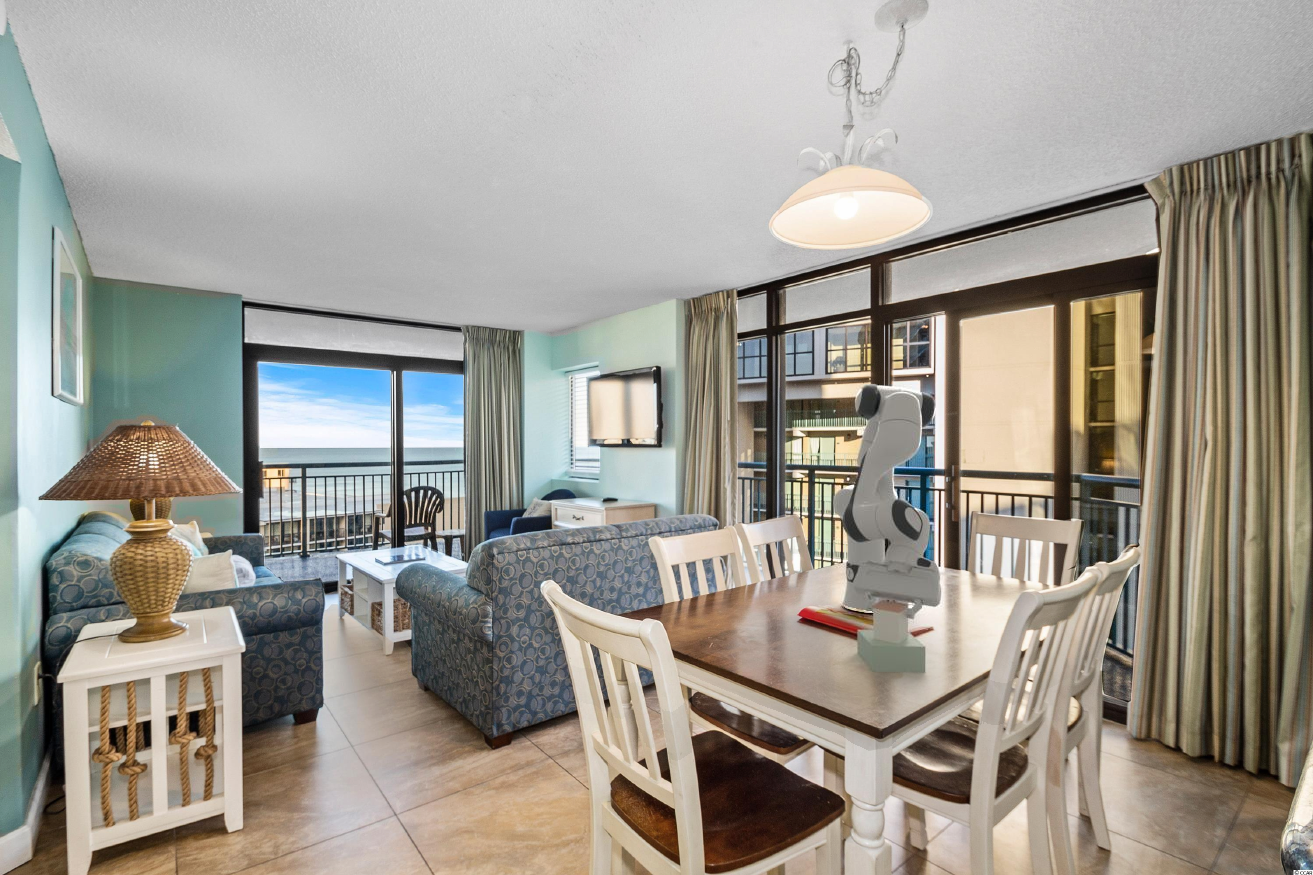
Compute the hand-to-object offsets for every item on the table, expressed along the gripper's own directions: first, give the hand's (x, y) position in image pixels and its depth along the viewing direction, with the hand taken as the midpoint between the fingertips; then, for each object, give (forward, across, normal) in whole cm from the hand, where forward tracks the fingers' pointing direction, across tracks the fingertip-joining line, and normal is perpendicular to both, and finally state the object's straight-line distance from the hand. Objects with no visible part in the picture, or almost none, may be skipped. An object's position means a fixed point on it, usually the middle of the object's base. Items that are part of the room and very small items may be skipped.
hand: (889, 613), depth 148 cm
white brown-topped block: (+4, 0, +4) cm, 6 cm away
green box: (+8, 0, +9) cm, 12 cm away
